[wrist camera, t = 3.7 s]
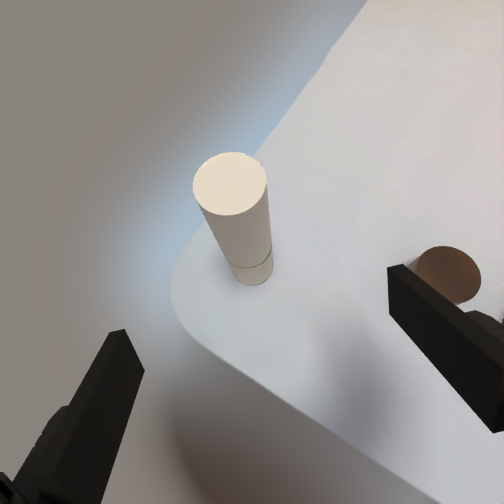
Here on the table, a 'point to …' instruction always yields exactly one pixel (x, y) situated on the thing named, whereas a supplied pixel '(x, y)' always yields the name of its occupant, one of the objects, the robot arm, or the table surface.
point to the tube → (237, 213)
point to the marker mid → (448, 273)
